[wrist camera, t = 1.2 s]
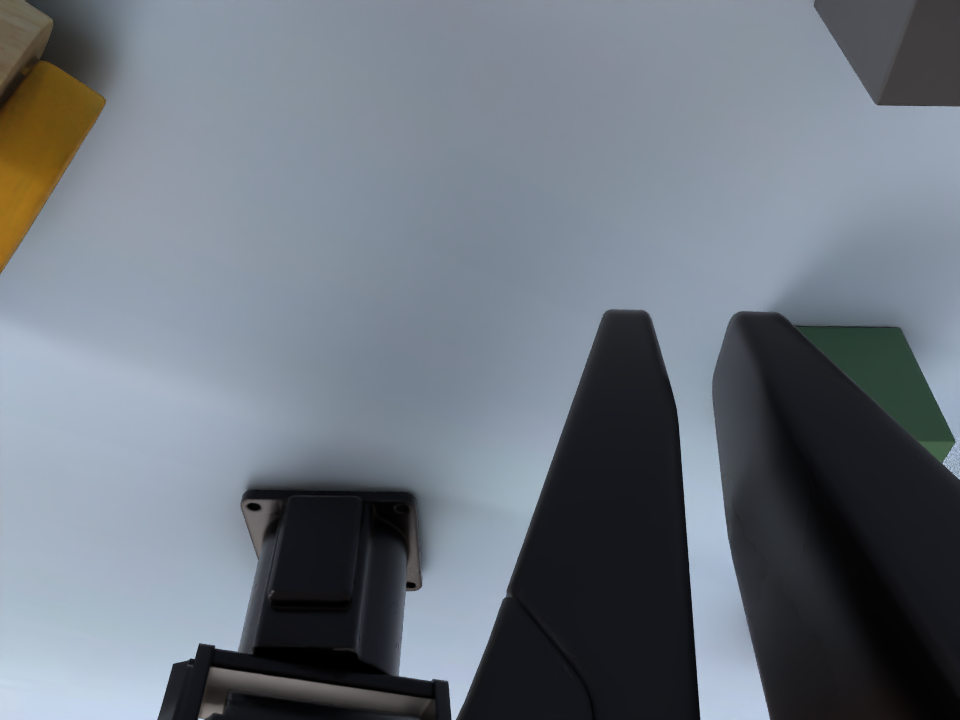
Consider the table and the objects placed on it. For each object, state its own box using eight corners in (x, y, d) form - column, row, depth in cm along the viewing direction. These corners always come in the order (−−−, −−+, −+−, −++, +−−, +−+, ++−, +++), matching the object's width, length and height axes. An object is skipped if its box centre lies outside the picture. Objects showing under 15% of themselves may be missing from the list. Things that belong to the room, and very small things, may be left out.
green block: (854, 422, 29) (897, 534, 26) (723, 421, 29) (751, 532, 26) (900, 327, 26) (956, 441, 22) (754, 325, 26) (790, 439, 22)
